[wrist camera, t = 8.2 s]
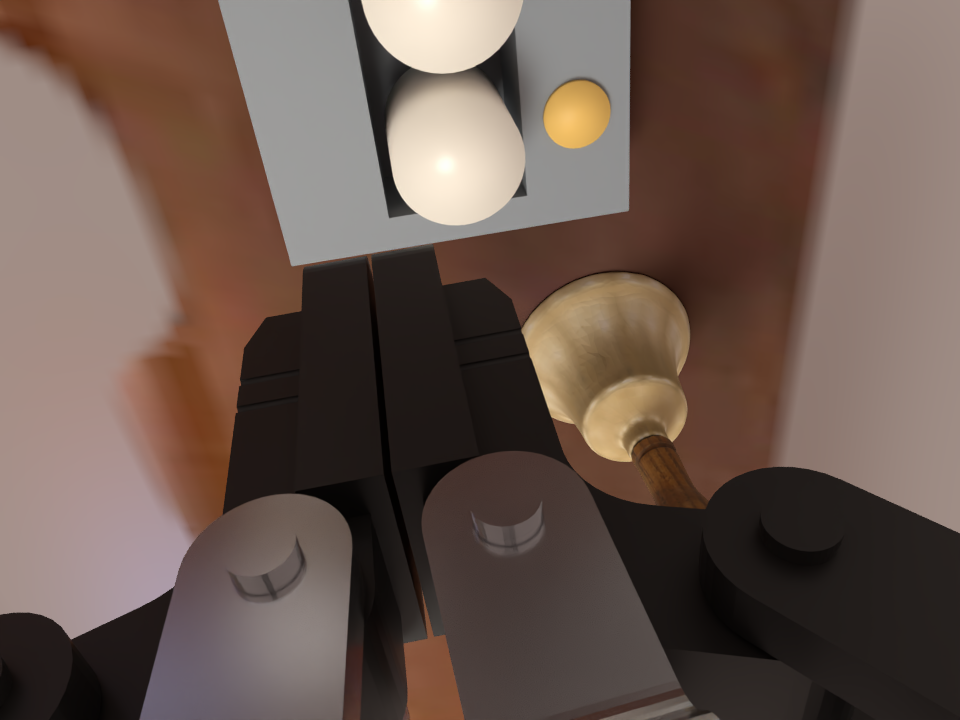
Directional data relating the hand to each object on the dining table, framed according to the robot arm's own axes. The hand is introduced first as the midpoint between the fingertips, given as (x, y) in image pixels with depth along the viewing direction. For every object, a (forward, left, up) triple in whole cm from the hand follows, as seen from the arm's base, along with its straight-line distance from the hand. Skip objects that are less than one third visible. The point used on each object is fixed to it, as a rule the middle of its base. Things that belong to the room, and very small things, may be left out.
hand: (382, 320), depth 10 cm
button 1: (+4, +2, -19) cm, 19 cm away
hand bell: (+17, +8, -21) cm, 29 cm away
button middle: (-1, +2, -17) cm, 17 cm away
